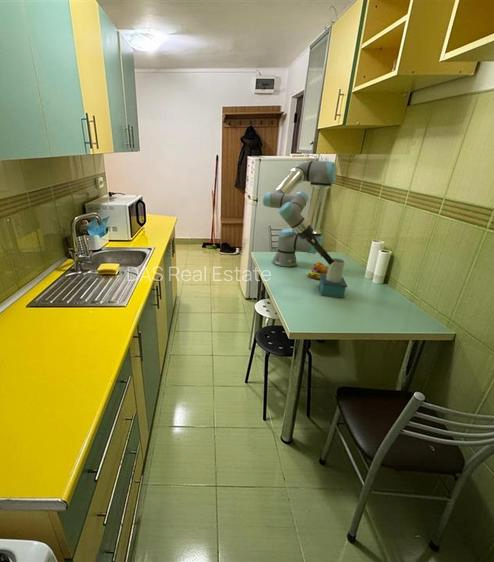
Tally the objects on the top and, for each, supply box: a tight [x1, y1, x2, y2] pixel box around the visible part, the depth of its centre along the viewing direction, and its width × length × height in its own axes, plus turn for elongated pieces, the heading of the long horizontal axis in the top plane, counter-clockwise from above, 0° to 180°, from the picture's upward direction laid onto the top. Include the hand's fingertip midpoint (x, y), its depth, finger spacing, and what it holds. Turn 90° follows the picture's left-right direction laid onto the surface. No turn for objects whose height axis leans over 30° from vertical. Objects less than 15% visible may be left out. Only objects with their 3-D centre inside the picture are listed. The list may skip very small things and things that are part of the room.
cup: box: [326, 257, 346, 283], centre depth 160 cm, size 7×7×11 cm
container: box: [318, 274, 348, 298], centre depth 163 cm, size 13×12×7 cm
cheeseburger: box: [307, 261, 328, 280], centre depth 182 cm, size 10×11×10 cm
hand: (327, 258), depth 157 cm, fingers open, 13 cm apart
